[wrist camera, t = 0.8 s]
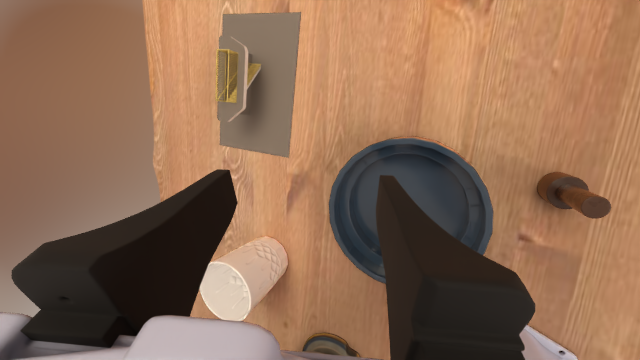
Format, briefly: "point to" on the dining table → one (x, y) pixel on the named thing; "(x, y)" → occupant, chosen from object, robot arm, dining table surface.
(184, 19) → the dining table surface
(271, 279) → the white cup
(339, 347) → the apothecary jar
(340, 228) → the bowl
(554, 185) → the wooden stepped peg
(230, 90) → the platform
